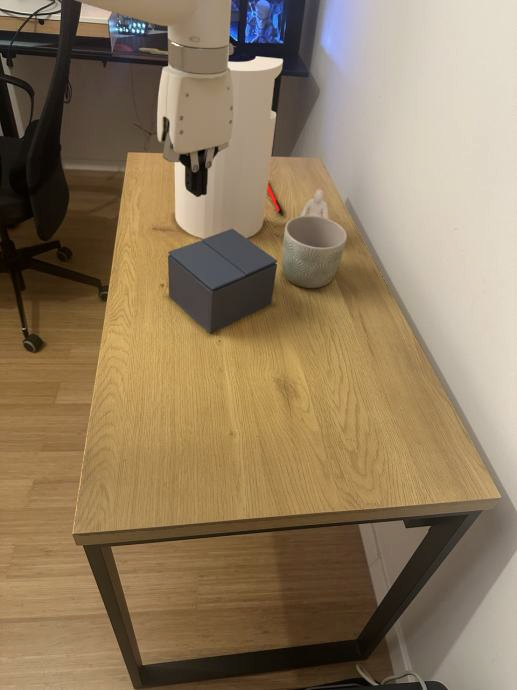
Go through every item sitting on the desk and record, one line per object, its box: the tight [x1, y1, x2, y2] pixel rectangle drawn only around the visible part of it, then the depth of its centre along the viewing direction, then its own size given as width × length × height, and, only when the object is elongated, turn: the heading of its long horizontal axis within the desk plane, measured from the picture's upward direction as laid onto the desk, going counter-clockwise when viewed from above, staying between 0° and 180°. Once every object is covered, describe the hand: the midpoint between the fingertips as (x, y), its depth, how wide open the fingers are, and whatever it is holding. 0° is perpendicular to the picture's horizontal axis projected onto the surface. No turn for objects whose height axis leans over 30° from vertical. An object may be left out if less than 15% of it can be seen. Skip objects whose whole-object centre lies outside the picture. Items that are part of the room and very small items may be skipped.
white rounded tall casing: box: [174, 55, 284, 239], centre depth 104 cm, size 35×11×21 cm
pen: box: [267, 183, 283, 216], centre depth 129 cm, size 1×19×1 cm, turn 13°
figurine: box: [299, 188, 329, 219], centre depth 111 cm, size 8×8×12 cm
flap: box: [167, 240, 246, 290], centre depth 88 cm, size 7×13×1 cm, turn 41°
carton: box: [167, 229, 278, 335], centre depth 94 cm, size 15×13×10 cm
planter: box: [281, 214, 348, 289], centre depth 102 cm, size 12×12×11 cm
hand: (196, 192), depth 76 cm, fingers closed
